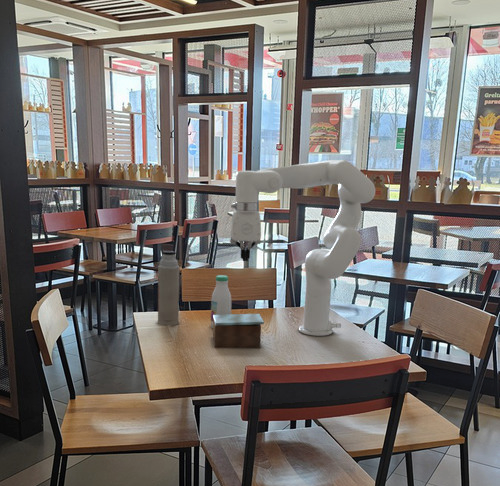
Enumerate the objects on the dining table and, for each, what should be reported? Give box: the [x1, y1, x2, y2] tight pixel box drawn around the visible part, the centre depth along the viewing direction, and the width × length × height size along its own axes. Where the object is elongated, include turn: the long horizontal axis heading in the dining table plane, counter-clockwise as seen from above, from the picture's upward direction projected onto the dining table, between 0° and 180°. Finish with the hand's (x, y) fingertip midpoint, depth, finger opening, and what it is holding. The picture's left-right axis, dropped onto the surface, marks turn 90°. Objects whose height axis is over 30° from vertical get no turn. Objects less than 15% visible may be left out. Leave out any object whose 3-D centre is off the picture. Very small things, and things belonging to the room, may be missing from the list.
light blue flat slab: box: [213, 313, 265, 325], centre depth 199 cm, size 16×11×1 cm
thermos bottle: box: [157, 250, 180, 327], centre depth 220 cm, size 8×8×28 cm
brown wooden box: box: [212, 317, 262, 349], centre depth 200 cm, size 16×11×8 cm
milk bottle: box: [210, 274, 232, 329], centre depth 218 cm, size 8×8×20 cm
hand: (245, 260), depth 200 cm, fingers closed
